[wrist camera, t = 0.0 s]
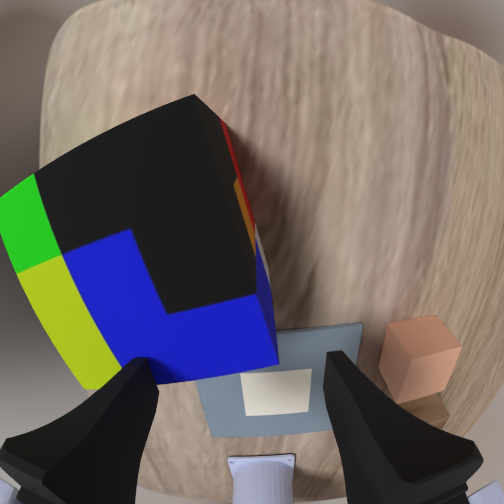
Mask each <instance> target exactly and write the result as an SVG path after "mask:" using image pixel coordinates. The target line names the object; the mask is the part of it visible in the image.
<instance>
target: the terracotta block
mask: <svg viewBox="0 0 504 504" xmlns="http://www.w3.org/2000/svg"><path fill="white" fill-rule="evenodd" d="M461 349H462V345H461V344H460V342H459V341H458V340H457V339H456V338H455V337H454V336H453V334H452V333H451V332H450V331H449V330H448V329H447V328H446V327H445V325H444V324H443V323H442V322H441V321H440V320H439V319H438V318H437V317H436V316H435V315H431V316H426V317H421V318H415V319H409V320H404V321H398V322H391V323H388V324H387V329H386V334H385V339H384V344H383V348H382V353H381V357H380V361H379V365H378V368H379V370H380V372H381V374H382V376H383V378H384V380H385V382H386V384H387V386H388V389H389V391H390V393H391V395H392V397H393V399H394V401H395V403H396V404H399V403H403V402H407V401H411V400H414V399H418V398H421V397H425V396H428V395H431V394H434V393H437V392H440V391H443V390H444V389H445V387H446V385H447V383H448V381H449V378H450V376H451V374H452V371H453V369H454V367H455V364H456V362H457V359H458V357H459V354H460V351H461Z"/></svg>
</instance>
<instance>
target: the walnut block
mask: <svg viewBox="0 0 504 504" xmlns="http://www.w3.org/2000/svg"><path fill="white" fill-rule="evenodd" d="M393 401H394V399H393ZM394 402H395V401H394ZM398 405H399V406H400V407H402V408H403V409H405V410H406V411H408V412H409V413H411V414H412V415H414V416H416V417H417V418H419V419H421V420H423V421H425V422H426V423H428V424H430V425H432V426H434V427H436V428H438V429H441V430H442V428H443V426H444V425H445V423H446V421H447V420H448V418H449V416H450V415H449V413H448V411H447V409H446V408H445V406H444V404H443V403H442V401H441V399H440V398H439V396H438V394H437V393H434V394H431V395H428V396H425V397H421V398H418V399H414V400H411V401H407V402H403V403H399V404H398Z"/></svg>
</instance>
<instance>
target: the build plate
mask: <svg viewBox="0 0 504 504" xmlns="http://www.w3.org/2000/svg"><path fill="white" fill-rule="evenodd" d="M362 328H363V324H362V322H360V323H352V324H344V325H335V326H326V327H316V328H306V329H294V330H281V331H276V336H277V345H278V353H279V362H280V364H279V365H275V366H270V367H266V368H261V369H256V370H251V371H246V372H241V373H236V374H230V375H225V376H219V377H213V378H206V379H200V380H195V381H196V385H197V388H198V392H199V396H200V399H201V403H202V406H203V409H204V413H205V416H206V419H207V423H208V426H209V429H210V432H211V435H212V437H258V436H276V435H289V434H299V433H308V432H316V431H324V430H330V429H332V425H331V422H330V419H329V416H328V412H327V409H326V404H325V398H324V392H323V380H324V372H325V362H326V353H327V352H330V351H338V350H342V351H343V352H344V353H345V354H346V355H347V356H348V357H349V359H350V360H351V361H352V362H353V363H354V364H355V365H356V364H357V358H358V353H359V347H360V341H361V334H362Z"/></svg>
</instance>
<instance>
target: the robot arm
mask: <svg viewBox="0 0 504 504" xmlns="http://www.w3.org/2000/svg"><path fill="white" fill-rule="evenodd" d="M323 392H324V398H325V404H326V409H327V412H328V416H329V419H330V422H331V425H332V429H333V432H334V435H335V438H336V442H337V445H338V448H339V452H340V456H341V460H342V466H343V472H344V478H345V486H346V493H347V502H348V504H504V493H503V490H502V488H501V486H500V484H499V482H498V480H494V481H493V482H491V483H489V484H488V485H486V486H484V487H483V488H481V489H479V490H477V491H476V492H474V493H473V494H471V495H470V496H468V497H467V496H466V493H465V492H466V491H467V490H468V486H467V484H466V481H467V480H468V479H469V478H470V477H471V476H472V475H473V474H474V473H475V472H476V471H477V470H478V469H479V468H480V467H481V465H482V463H483V457H482V456H481V454H480V451H479V450H478V448H477V446H476V445H475V443H474V442H473V441H472V440H468V439H465V438H462V437H459V436H456V435H453V434H450V433H448V432H445V431H443V430H441V429H438V428H436V427H434V426H432V425H430V424H428V423H426V422H425V421H423V420H421V419H419V418H417V417H416V416H414V415H412V414H411V413H409V412H408V411H406V410H405V409H403V408H402V407H400V406H399V405H398V404H396V403H395V402H394V401H393V400H391V399H390V398H389V397H388V396H387V395H385V394H384V393H383V392H382V391H381V390H380V389H379V388H377V387H376V386H375V385H374V384H373V383H372V382H371V381H370V380H369V379H368V378H367V377H366V376H365V375H364V374H363V373H362V372H361V371H360V370H359V368H358V367H357V366H356V365H355V364H354V363H353V362H352V361H351V360H350V359H349V357H348V356H347V355H346V354H345V353H344V352H343V351H342V350H338V351H330V352H327V353H326V362H325V372H324V380H323ZM158 396H159V390H158V388H157V385H156V382H155V380H154V377H153V374H152V372H151V369H150V366H149V363H148V360H147V358H133V359H132V360H130V361H129V362H128V363H127V364H126V365H125V366H124V367H123V368H122V369H121V370H120V371H119V372H117V373H116V374H115V375H114V376H113V377H112V378H111V379H110V380H109V381H108V382H107V383H106V384H104V385H103V386H102V387H101V388H100V389H99V390H98V391H96V392H95V393H94V394H93V395H92V396H90V397H89V398H88V399H87V400H85V401H84V402H83V403H82V404H80V405H79V406H78V407H76V408H75V409H73V410H72V411H70V412H68V413H67V414H65V415H64V416H62V417H60V418H58V419H56V420H55V421H53V422H51V423H49V424H47V425H45V426H43V427H40V428H38V429H35V430H33V431H30V432H28V433H25V434H21V435H18V436H15V437H11V438H7V439H6V440H5V442H4V444H3V445H2V447H1V449H0V467H1V468H2V469H3V470H4V471H5V472H6V473H7V474H8V475H9V476H10V477H11V478H13V479H14V480H15V481H16V482H17V483H18V484H19V485H21V488H20V490H18V489H17V488H15V487H13V486H12V485H11V484H9V483H7V482H6V481H4V480H3V479H1V478H0V504H135V496H136V487H137V479H138V473H139V467H140V461H141V457H142V453H143V450H144V447H145V444H146V441H147V438H148V435H149V432H150V428H151V425H152V422H153V419H154V416H155V413H156V408H157V403H158ZM294 460H295V456H294V455H293V454H287V455H274V456H252V457H228V463H229V467H230V470H231V473H232V476H233V479H234V485H233V504H294V501H293V490H292V481H293V471H294Z"/></svg>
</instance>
